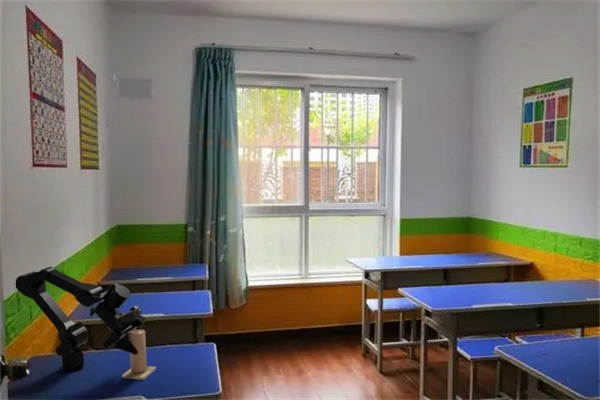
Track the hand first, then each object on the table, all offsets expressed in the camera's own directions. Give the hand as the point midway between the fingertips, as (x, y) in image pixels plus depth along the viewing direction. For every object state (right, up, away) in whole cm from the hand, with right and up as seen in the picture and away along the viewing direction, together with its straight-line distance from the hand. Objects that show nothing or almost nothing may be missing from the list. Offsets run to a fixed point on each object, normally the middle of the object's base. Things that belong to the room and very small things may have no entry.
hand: (141, 350), depth 161 cm
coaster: (-1, -8, +1) cm, 8 cm away
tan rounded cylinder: (-1, -7, +1) cm, 7 cm away
